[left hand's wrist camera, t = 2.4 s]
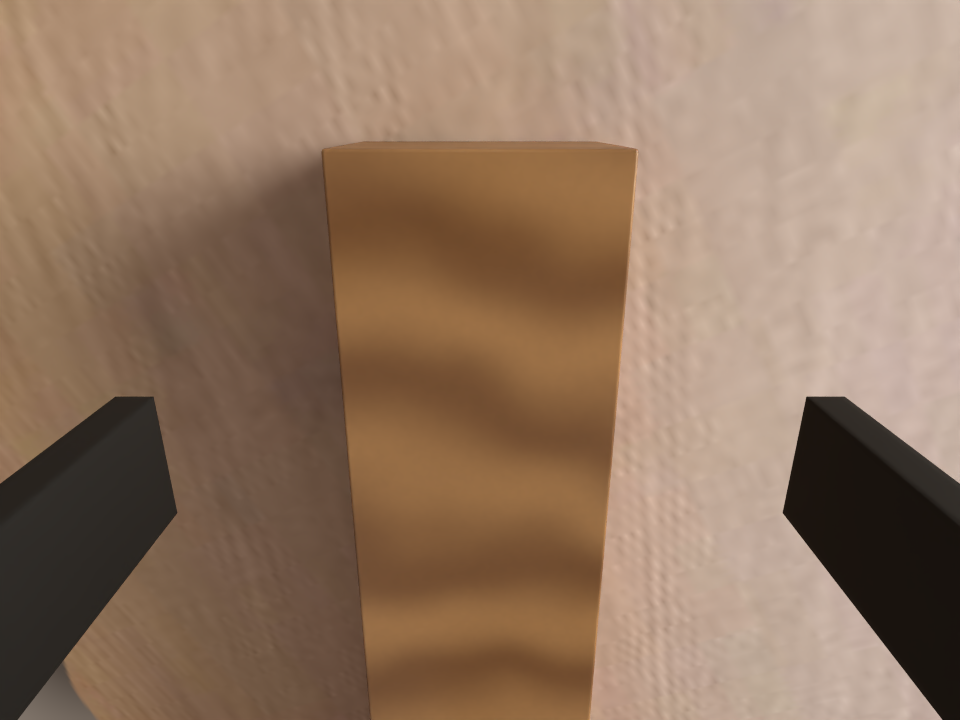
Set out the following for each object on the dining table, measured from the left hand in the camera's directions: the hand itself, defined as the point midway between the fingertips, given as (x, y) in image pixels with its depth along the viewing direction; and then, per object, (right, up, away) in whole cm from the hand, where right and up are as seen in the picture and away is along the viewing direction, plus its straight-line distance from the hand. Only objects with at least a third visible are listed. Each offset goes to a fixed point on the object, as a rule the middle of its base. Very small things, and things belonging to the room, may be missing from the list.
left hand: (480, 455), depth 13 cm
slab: (0, -14, +21) cm, 25 cm away
